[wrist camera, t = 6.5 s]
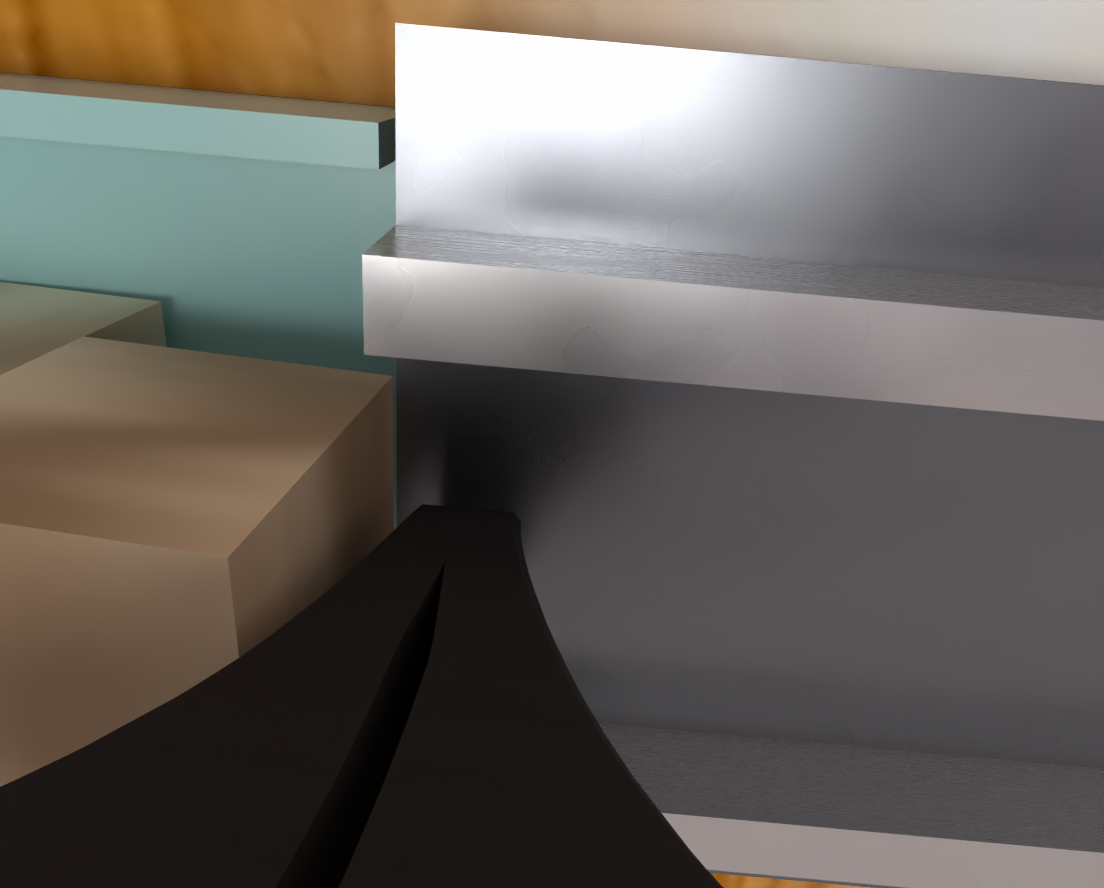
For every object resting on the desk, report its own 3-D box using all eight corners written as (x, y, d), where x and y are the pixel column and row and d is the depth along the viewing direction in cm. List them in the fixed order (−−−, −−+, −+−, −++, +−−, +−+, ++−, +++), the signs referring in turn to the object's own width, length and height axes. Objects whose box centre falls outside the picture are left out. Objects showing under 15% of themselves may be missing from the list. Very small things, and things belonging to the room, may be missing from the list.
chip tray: (420, 109, 11) (378, 122, 9) (414, 670, 16) (385, 774, 13) (-224, 52, 11) (-426, 51, 9) (-52, 628, 16) (-161, 724, 13)
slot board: (1639, 137, 11) (2264, 185, 7) (1240, 784, 16) (1460, 1031, 12) (443, 30, 11) (356, 16, 7) (429, 711, 16) (376, 932, 12)
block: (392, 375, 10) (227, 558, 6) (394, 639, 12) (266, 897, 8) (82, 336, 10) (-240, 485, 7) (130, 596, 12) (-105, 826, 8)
